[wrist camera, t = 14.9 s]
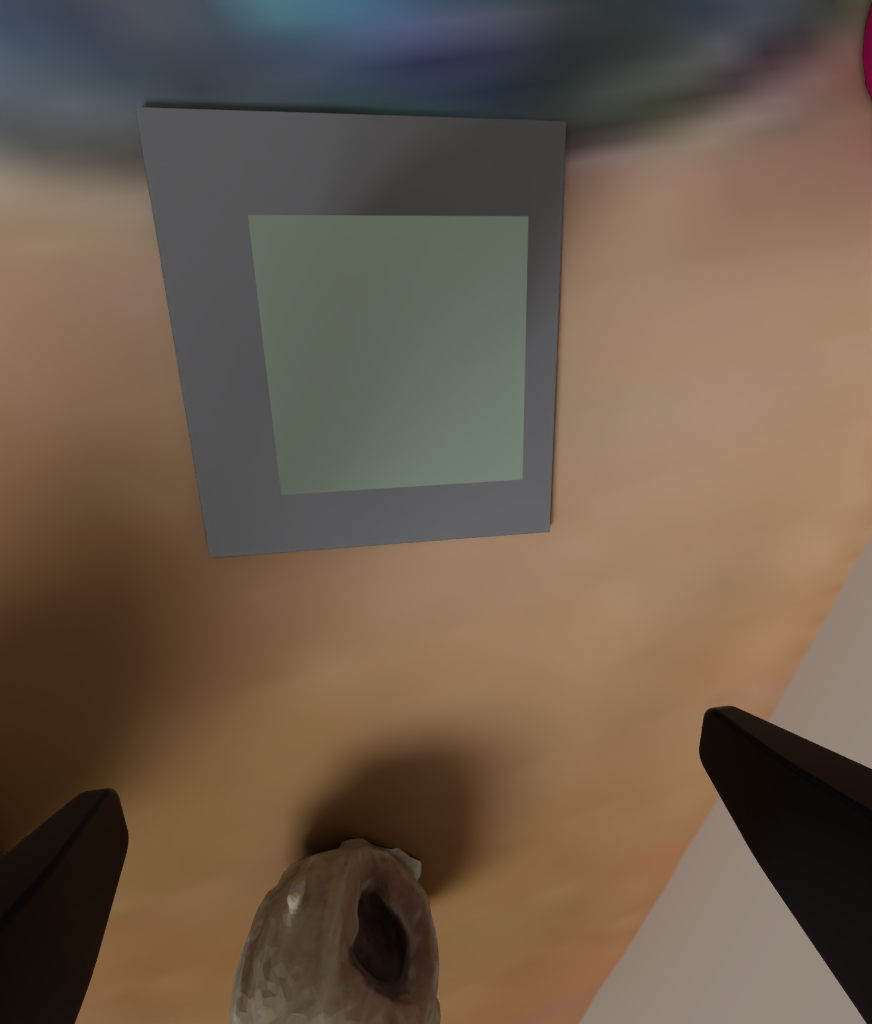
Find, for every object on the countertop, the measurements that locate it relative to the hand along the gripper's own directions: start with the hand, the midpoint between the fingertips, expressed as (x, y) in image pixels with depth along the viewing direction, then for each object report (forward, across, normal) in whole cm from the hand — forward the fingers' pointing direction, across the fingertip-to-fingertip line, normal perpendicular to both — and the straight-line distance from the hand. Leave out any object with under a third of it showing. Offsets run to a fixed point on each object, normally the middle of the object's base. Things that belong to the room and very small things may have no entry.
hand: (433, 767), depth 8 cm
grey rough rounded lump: (+13, +3, +18) cm, 23 cm away
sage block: (+8, 0, -6) cm, 10 cm away
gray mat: (+13, 0, -6) cm, 14 cm away
